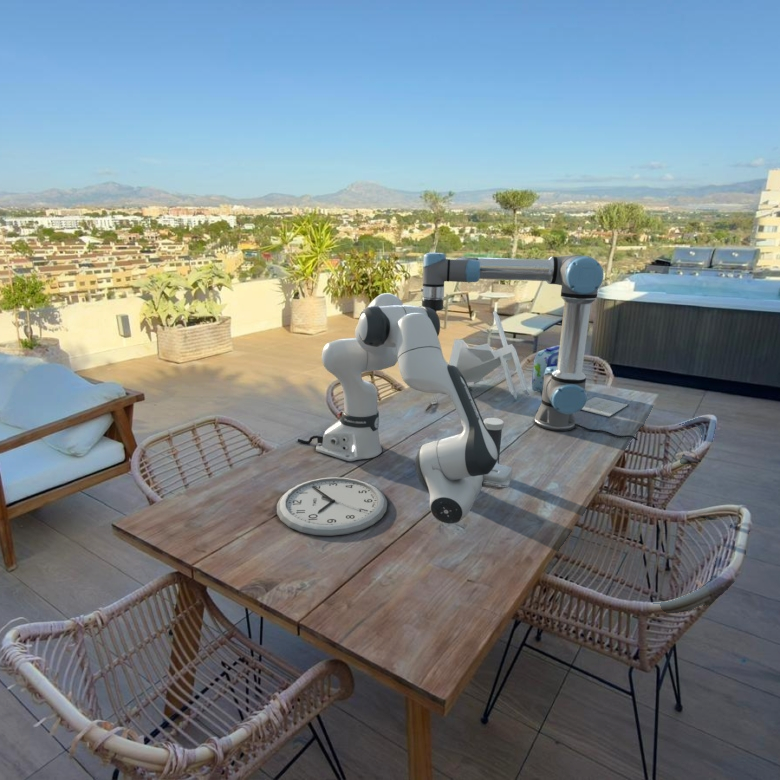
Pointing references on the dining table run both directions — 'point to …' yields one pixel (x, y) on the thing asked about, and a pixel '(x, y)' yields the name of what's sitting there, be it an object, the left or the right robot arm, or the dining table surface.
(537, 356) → the lunch box
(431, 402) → the fork
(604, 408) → the invitation card
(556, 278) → the right robot arm
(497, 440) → the jar
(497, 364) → the white plastic object
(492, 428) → the lid
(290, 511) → the wall clock
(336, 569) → the dining table surface
